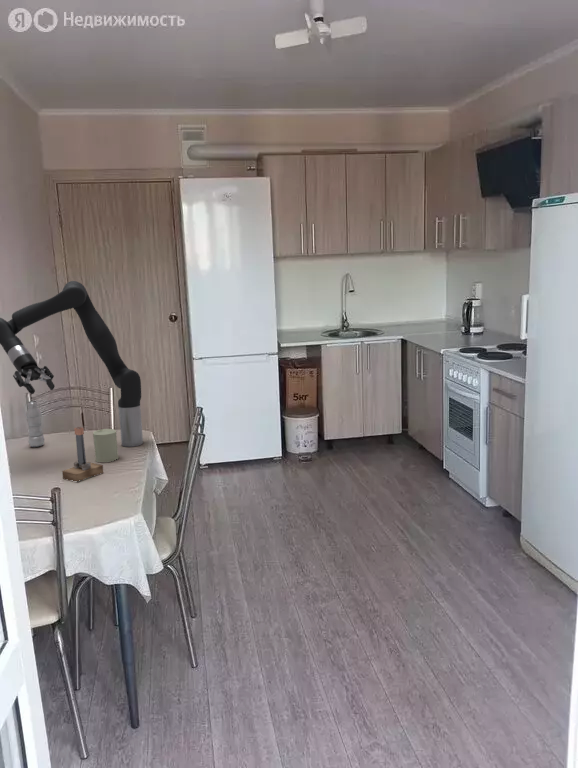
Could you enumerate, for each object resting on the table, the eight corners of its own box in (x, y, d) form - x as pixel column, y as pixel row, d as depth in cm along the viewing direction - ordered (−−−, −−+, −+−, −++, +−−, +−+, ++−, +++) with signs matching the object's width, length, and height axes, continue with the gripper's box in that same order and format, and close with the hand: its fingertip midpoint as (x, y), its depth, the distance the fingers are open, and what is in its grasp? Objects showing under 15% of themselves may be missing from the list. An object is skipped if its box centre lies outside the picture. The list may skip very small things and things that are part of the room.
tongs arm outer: (79, 466, 233) (76, 427, 230) (84, 467, 232) (81, 428, 229) (77, 467, 232) (74, 428, 230) (82, 468, 231) (79, 428, 228)
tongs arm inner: (82, 465, 234) (78, 426, 231) (87, 466, 233) (83, 427, 230) (80, 466, 234) (76, 427, 230) (85, 467, 232) (81, 428, 229)
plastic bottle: (25, 448, 271) (20, 403, 268) (36, 443, 278) (31, 399, 274) (38, 449, 270) (33, 403, 266) (48, 444, 276) (43, 400, 272)
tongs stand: (89, 469, 240) (88, 457, 239) (103, 472, 236) (102, 460, 235) (63, 478, 231) (61, 465, 230) (77, 482, 226) (75, 469, 225)
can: (107, 454, 259) (105, 426, 257) (123, 457, 254) (121, 429, 252) (90, 460, 251) (87, 432, 249) (106, 464, 247) (103, 434, 244)
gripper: (8, 355, 235) (30, 387, 231) (41, 350, 246) (62, 381, 242) (1, 368, 239) (23, 400, 235) (34, 362, 250) (55, 393, 246)
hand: (43, 390), depth 239 cm, fingers open, 8 cm apart
